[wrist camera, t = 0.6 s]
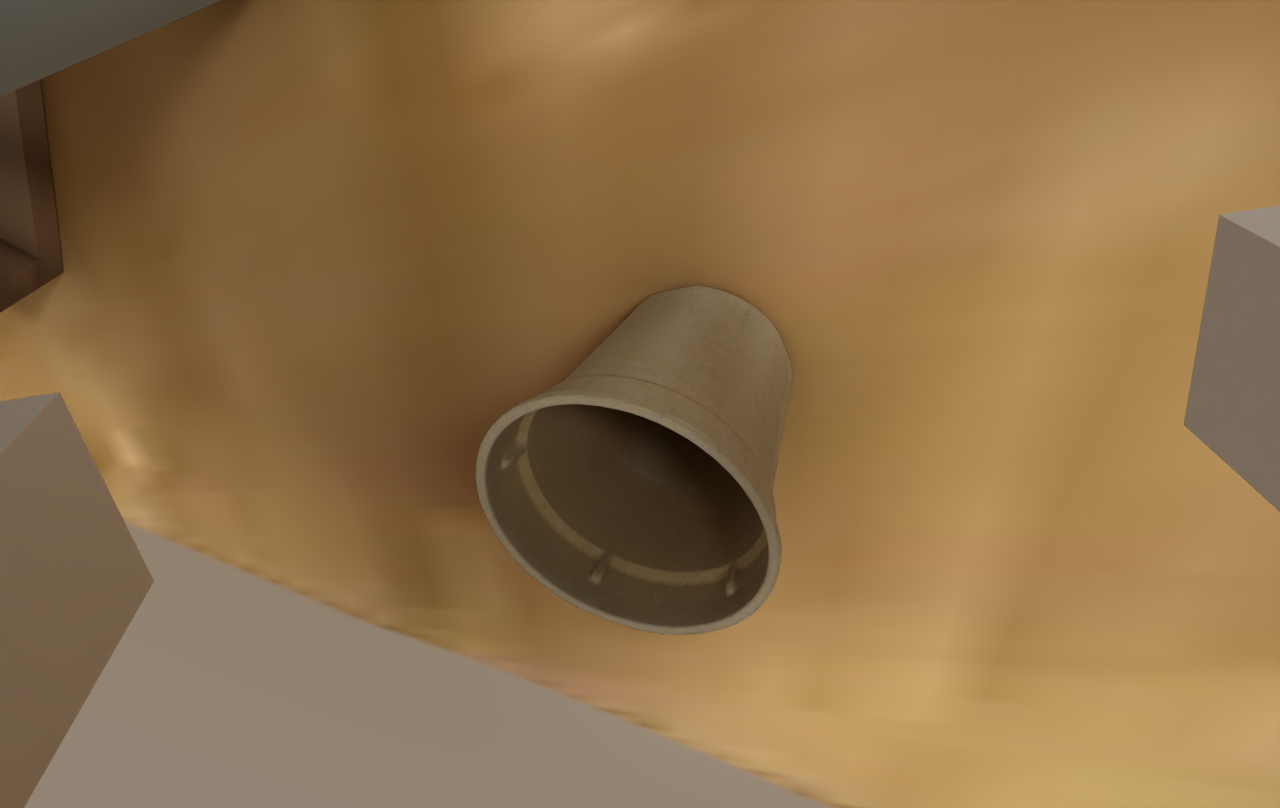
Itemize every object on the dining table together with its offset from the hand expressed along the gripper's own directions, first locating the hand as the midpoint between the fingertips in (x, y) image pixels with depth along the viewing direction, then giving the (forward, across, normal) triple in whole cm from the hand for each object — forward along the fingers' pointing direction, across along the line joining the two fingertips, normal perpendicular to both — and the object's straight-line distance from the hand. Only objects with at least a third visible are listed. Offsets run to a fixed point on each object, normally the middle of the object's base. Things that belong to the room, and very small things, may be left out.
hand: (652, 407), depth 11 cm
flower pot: (+21, +2, -10) cm, 23 cm away
